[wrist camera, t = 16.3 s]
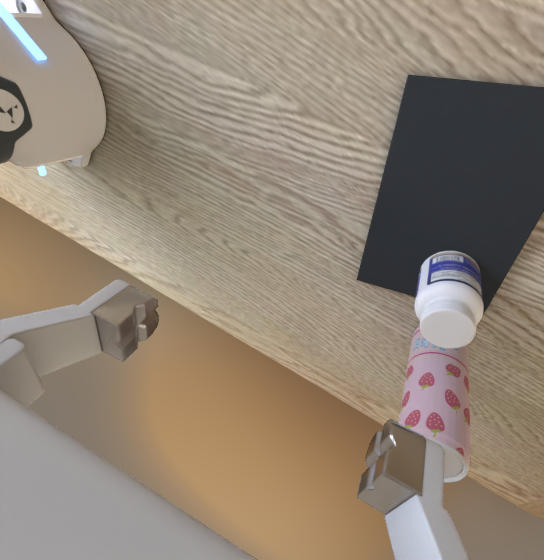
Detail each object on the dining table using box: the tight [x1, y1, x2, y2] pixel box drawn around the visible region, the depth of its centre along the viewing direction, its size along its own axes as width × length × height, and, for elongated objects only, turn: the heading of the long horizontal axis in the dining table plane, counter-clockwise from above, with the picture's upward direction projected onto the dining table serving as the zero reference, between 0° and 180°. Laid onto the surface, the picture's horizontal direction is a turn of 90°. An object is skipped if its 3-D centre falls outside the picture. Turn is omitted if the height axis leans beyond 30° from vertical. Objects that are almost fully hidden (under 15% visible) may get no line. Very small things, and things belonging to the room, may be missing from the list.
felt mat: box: [357, 75, 544, 314], centre depth 30 cm, size 13×20×1 cm, turn 177°
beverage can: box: [399, 326, 470, 482], centre depth 32 cm, size 6×6×15 cm
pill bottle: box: [415, 251, 484, 348], centre depth 30 cm, size 5×5×9 cm
